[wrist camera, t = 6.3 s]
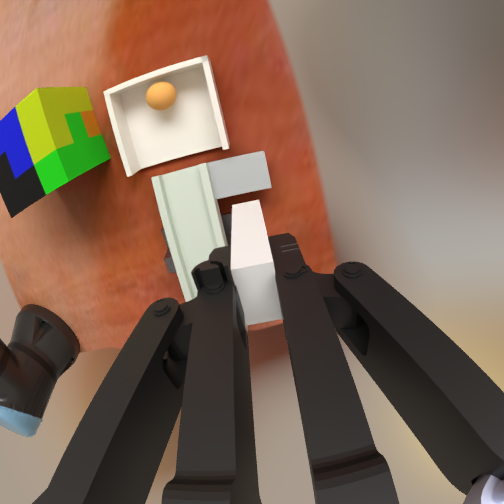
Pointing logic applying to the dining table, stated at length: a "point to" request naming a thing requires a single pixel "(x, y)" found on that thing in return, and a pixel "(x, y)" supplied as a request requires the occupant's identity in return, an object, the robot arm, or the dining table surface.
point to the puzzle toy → (47, 144)
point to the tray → (167, 116)
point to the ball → (161, 95)
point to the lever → (203, 208)
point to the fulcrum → (228, 229)
